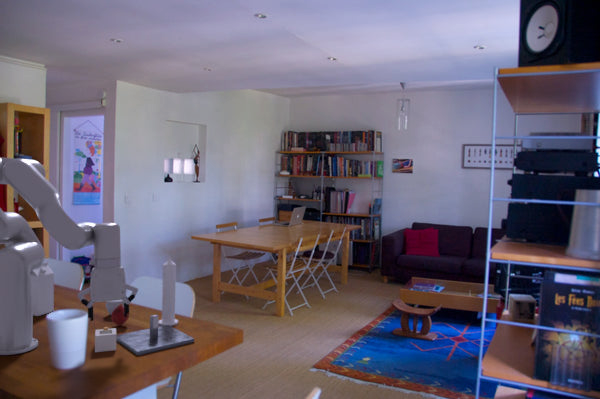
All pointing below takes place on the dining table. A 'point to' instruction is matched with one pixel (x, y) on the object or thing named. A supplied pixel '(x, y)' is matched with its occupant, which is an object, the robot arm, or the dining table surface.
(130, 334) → the hub plate
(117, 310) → the onion
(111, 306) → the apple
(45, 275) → the milk carton
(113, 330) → the white cube box
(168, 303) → the candle
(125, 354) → the dining table surface
